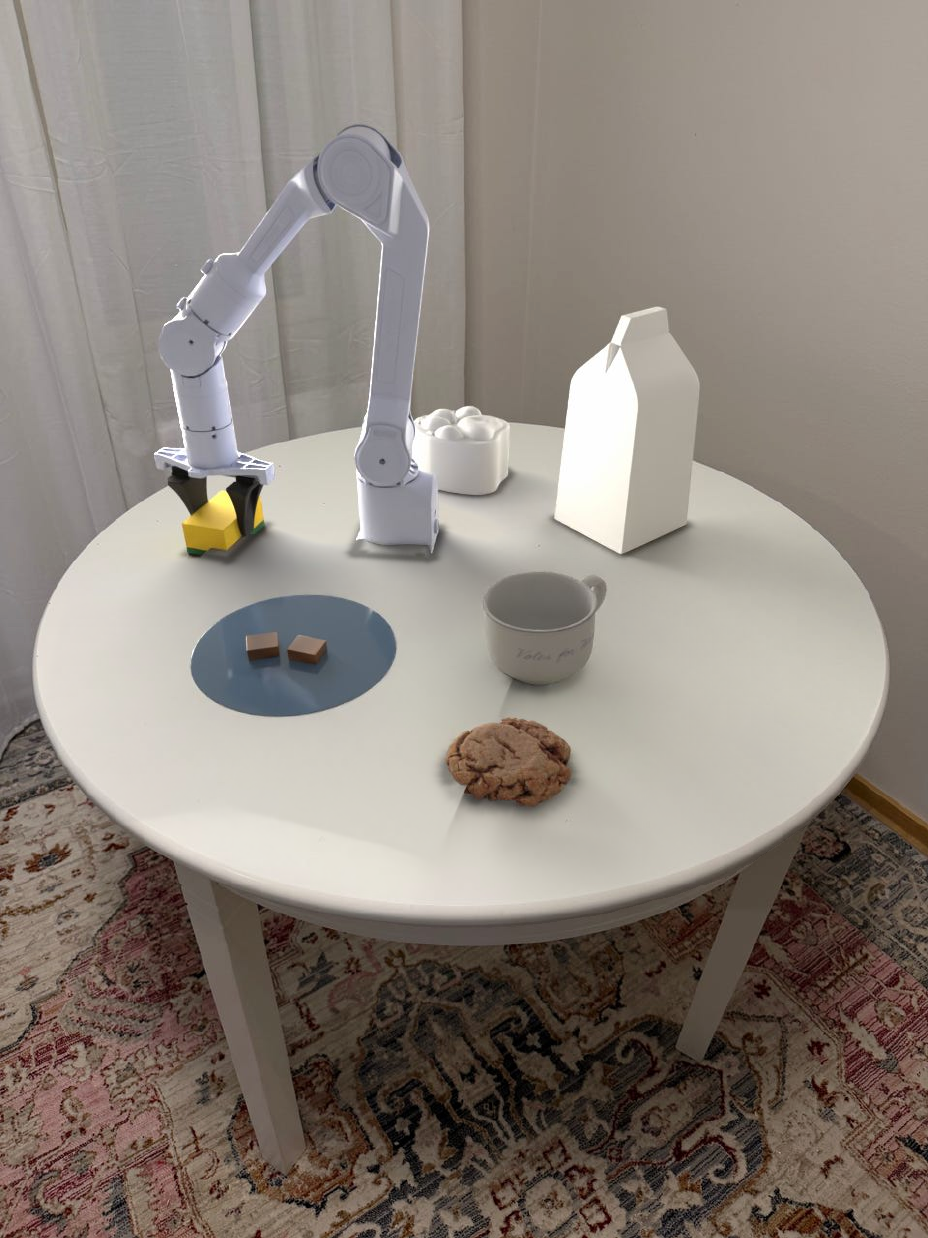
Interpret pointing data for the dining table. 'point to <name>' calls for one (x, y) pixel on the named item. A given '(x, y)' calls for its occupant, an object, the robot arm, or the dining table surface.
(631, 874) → the dining table surface
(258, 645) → the block
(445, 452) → the lumpy-topped squat cylinder
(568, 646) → the teacup
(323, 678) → the plate
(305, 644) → the block
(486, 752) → the cookie
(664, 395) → the milk
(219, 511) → the sponge
